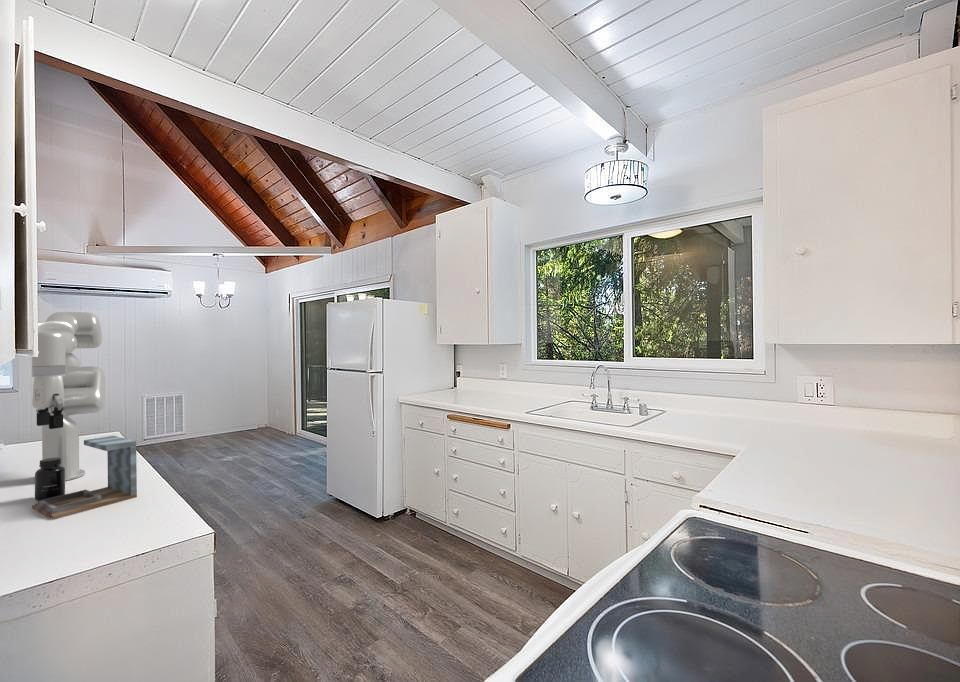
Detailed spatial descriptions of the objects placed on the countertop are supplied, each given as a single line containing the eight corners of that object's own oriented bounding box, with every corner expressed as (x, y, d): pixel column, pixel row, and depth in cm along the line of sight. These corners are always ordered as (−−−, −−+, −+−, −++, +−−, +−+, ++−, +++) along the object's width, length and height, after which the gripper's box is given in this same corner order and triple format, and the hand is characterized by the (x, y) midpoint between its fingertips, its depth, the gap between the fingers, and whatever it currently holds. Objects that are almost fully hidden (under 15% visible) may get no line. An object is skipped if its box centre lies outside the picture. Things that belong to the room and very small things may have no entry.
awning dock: (32, 508, 129) (31, 448, 129) (113, 488, 146) (112, 435, 146) (53, 519, 121) (52, 455, 121) (136, 497, 138) (136, 440, 138)
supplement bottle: (46, 502, 134) (45, 463, 133) (28, 501, 135) (28, 461, 135) (71, 494, 140) (70, 456, 140) (54, 493, 142) (53, 455, 142)
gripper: (22, 371, 138) (23, 426, 138) (43, 373, 130) (44, 431, 130) (54, 369, 145) (55, 422, 145) (76, 371, 136) (77, 427, 136)
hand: (49, 426), depth 137 cm, fingers open, 9 cm apart
